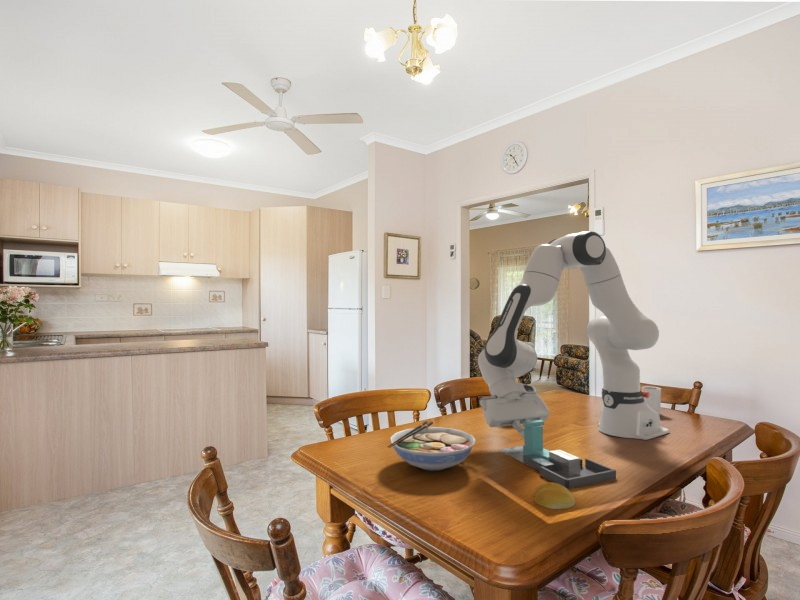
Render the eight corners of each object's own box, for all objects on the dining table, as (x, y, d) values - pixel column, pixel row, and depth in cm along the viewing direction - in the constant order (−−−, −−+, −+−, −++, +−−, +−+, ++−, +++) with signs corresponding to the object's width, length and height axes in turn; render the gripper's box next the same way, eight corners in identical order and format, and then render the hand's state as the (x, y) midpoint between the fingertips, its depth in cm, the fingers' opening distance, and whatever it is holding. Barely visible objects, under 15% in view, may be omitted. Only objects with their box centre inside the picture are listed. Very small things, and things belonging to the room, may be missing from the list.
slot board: (531, 447, 129) (531, 437, 129) (582, 470, 111) (582, 459, 111) (497, 452, 125) (497, 442, 125) (545, 478, 106) (544, 465, 106)
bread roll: (535, 513, 89) (535, 493, 89) (533, 494, 98) (532, 476, 98) (578, 517, 87) (578, 497, 87) (572, 498, 96) (571, 479, 96)
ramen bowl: (455, 492, 98) (454, 456, 98) (371, 474, 110) (370, 442, 110) (488, 458, 120) (488, 429, 120) (415, 446, 131) (415, 419, 131)
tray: (587, 470, 111) (586, 458, 111) (616, 483, 103) (615, 470, 103) (540, 478, 106) (539, 466, 106) (566, 493, 97) (566, 480, 97)
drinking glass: (665, 415, 166) (665, 389, 166) (648, 415, 166) (648, 389, 166) (654, 411, 173) (654, 386, 173) (638, 411, 172) (638, 386, 173)
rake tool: (537, 452, 122) (537, 418, 122) (563, 464, 113) (562, 428, 113) (520, 455, 120) (519, 421, 120) (544, 467, 110) (544, 430, 111)
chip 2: (569, 469, 109) (569, 453, 109) (580, 474, 106) (580, 458, 106) (558, 471, 108) (558, 455, 108) (569, 476, 104) (568, 460, 104)
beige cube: (560, 465, 112) (559, 449, 112) (569, 469, 109) (569, 453, 109) (549, 466, 111) (549, 451, 111) (558, 471, 108) (558, 455, 108)
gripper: (481, 391, 125) (501, 434, 115) (539, 386, 132) (562, 426, 123) (473, 403, 129) (492, 446, 120) (529, 397, 136) (551, 437, 127)
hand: (528, 436), depth 121 cm, fingers closed
